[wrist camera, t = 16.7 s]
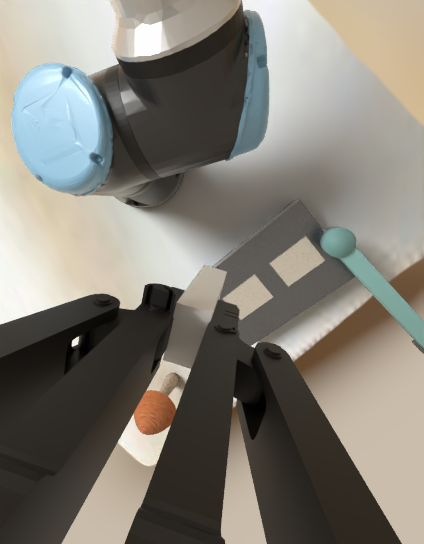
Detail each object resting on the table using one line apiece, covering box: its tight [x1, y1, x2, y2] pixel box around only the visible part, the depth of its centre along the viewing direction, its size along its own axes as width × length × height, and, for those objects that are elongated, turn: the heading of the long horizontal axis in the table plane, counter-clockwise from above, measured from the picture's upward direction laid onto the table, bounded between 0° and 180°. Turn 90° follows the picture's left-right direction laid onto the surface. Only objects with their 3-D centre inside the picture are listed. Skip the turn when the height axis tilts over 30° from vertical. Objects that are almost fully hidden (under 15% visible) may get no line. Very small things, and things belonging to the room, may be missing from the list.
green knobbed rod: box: [320, 227, 424, 353], centre depth 38 cm, size 24×4×3 cm, turn 45°
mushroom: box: [134, 373, 178, 435], centre depth 51 cm, size 8×8×15 cm
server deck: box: [212, 200, 355, 346], centre depth 45 cm, size 15×23×8 cm, turn 130°
